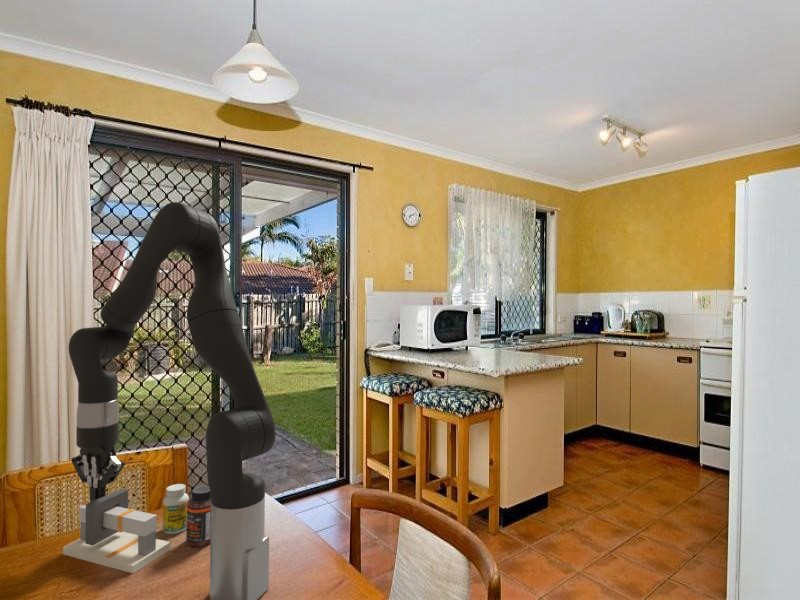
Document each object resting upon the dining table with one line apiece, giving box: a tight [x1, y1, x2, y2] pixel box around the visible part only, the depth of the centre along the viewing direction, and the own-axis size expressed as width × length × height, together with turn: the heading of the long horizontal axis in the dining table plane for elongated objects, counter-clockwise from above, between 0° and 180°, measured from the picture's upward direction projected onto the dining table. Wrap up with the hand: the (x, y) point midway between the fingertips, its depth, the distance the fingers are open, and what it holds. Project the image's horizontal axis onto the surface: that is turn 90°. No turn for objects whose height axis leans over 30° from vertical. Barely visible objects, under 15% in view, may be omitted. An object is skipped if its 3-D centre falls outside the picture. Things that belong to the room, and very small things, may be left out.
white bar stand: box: [62, 503, 171, 574], centre depth 96 cm, size 19×9×9 cm, turn 71°
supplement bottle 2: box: [185, 485, 211, 547], centre depth 101 cm, size 6×6×11 cm
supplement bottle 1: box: [162, 483, 190, 535], centre depth 105 cm, size 5×5×10 cm
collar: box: [85, 488, 129, 545], centre depth 97 cm, size 2×8×8 cm, turn 161°
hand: (97, 503), depth 97 cm, fingers closed
